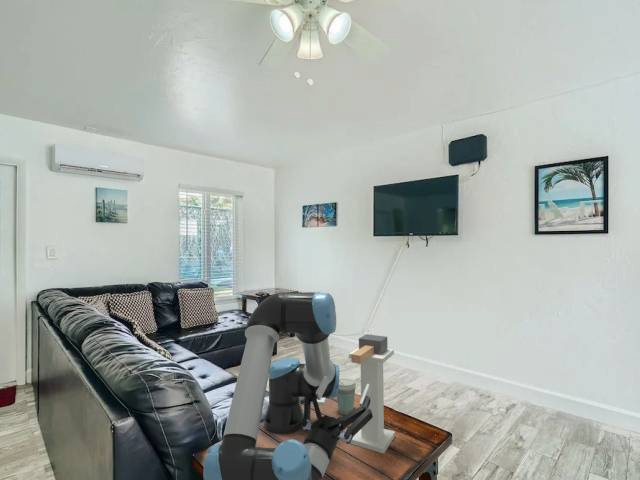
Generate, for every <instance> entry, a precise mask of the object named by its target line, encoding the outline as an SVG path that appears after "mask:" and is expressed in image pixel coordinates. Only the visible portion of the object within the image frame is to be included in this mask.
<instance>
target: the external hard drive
mask: <svg viewBox="0 0 640 480" xmlns="http://www.w3.org/2000/svg"><path fill="white" fill-rule="evenodd" d="M326 400H327V398H321V399H320V400H318V399H317V402H318V405H323V404H324V403H326ZM311 405H313V402H311ZM324 405H325V404H324Z"/></svg>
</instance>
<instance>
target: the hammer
mask: <svg viewBox="0 0 640 480" xmlns="http://www.w3.org/2000/svg"><path fill="white" fill-rule="evenodd" d="M358 348H359V350H357V351H356V352H354V353H353V354H351V358H350V359H351V361H350V362H351V363H353V364H359V365H361V363H362V362H364V361H365V360H366V359H368V358H369V357H370V356H372V355H373V354H379V355H381V354H383V353H384V352H385V351H386V350H388V349H389V348H388V336H385V335H376V334H375V335H374V334H369V333H368V334H367V333H366V334H364V335H362V336H360V337H359V338H358Z"/></svg>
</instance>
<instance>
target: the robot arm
mask: <svg viewBox="0 0 640 480" xmlns="http://www.w3.org/2000/svg"><path fill="white" fill-rule="evenodd" d="M336 328H337V311H336V304H335V300H334V297H333V295H332V294H330V293H328V292H320V291H317V292H315V291H314V292H312V291H311V292H310V291H309V292H308V291H307V292H304V291H303V292H301V291H300V292H285V291H283V292H281V291H280V292H276V293H273V294H271V295H269V296H267V297H266V298H264V299H263V300H261V302H260V303H259V304H258V305H257V306H256V308H255V309H254V310H253V312H252V313H251V314H250V316H249V319H248V321H247V324H246V325H245V330H244V336H245V338H246V341H245V342H246V343H245V346H244V351H243V355H242V358H241V361H240V366H239V371H238V374H237V379H236V383H235V387H234V390H233V394H232V400H231V403H230V407H229V411H228V416H227V420H226V424H225V428H224V432H223V434H222V435H223V436H222V441H221V444H217V445H216V444H215V445H212V446H210V448H209V450H208V452H207V454H206V456H205V459H204V464H203V470H202V471H203V472H202V474H203V480H323V478H324V476H325V473H326V471H327V468H328V466H329V464H330V460H331V459H332V456H333V454H334V451H335V450H336V446H337V444H338V442H339V440H340V439H341V440H343V441H345V443H346V444H347V445H349V444H350V442H351V440H352V438H353V436H354V435H355V434H357V433H358V432H359V431H360V430H361V429H362V428H363V427H364V426H365V425H366V424H367V423H368V422H369V421H370V420H371V419H372V418H373V415H372V411H371V409H368V407H369V405H370V402H371V401H370V397H369V396H370V393H371V388H370V384H367V385H366V388H365V390H364V393H363V395H362V398H361V397H360V400H359V407H356V408H355V409H353V411H352V412H350V413H348V414H347V415H343V416H339V417H338V418H336V417H333V416H329V415H326V414H325V415H323V416H322V413H321V409H320V406H319V405H320V404H318V402H317V399H318V400H320V399H321V398H326V399H332V398H333V399H334V398H337V394H338V388H339V379H340V365H338V364H335V363H334V362H333V361H332V360H331V357H330V344H329V337H330V335H332V334H334V333H335V332H336V330H337V329H336ZM282 333H285V334H287V333H288V334H294V335H295V336H296V338H297V339H298V340H299V341H300V342H301V345H302V351H303V356H304V363H301V361H300V359H299V358H295V357H288V358H281V359H278V360H277V361H274V362H273V363H272V358H273V352H274V347H275V343H276V344H277V342H278V341H279V340H280V336H281V335H280V334H282ZM267 385H268V386H267ZM267 387H268V405H267V409H266V412H265V414H264V420H263V421H264V423H263V426H264V428H265V429H266V430H267V431H269V432H271V433H274V434H281V435H283V434H285V435H286V434H290V433H291V434H292V433H294V432H298V431H299V430H301V429H303V431H304V432H307V431H308V432H307V435H306V436H305V439H304V441H303V442H301V441H299V440H298V439H287V440H284V441H282V442H280V443H279V444H278V445H277V446H276V447H260V446H257V440H258V437H259V436H258V435H259V430H260V427H261V426H260V425H261V419H262V413H263V407H264V402H265V397H266V391H267ZM301 398H304V399H303V400H304V401H303V402H304V403H303V404H304V405H303V407H302V405H301V400H300V399H301ZM311 402H313V404H311ZM312 405H313V408H314V411H315V417H316V419H317V420H315V421H313V422H311V414H312V413H311V411H312V410H311V408H312V407H311V406H312ZM342 431H343V432H342Z"/></svg>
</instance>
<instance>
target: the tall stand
mask: <svg viewBox="0 0 640 480" xmlns="http://www.w3.org/2000/svg"><path fill="white" fill-rule="evenodd" d="M357 350H359V347H358V348H355V349H354V350H352V351H351V352H349V354H348V359H351V354H353V353H354V352H356V351H357ZM394 354H395V349H392V348H388V350H386V351H385V352H384V353H383V354H381V355H379V354H373V355H372V356H370V357H369V358H368V359H366V360H365V361H364V362H362V363H361V364H360V399H361V398H362V395H363V393H364V390H365V388H366V385H367V384H370V388H371V393H370V396H369V397H370V401H371V402H370V405H369V407H368V409H371V411H372V415H373V418H372V419H371V420H370V421H369V422H368V423H367V424H366V425H365V426H364V427H363V428H362V429H361V430H360V431H359V432H358V433H357V434H355V435H354V436H353V438H352V440H351V442H350V443H349V444H350V445H354V446H357V447H360V448H363V449H368V450H370V451H373V452H377V453H380V454H382V455H383V454H385V453H386V451H387V450H388V448H389V446H390V445H391V443H392V442H393V440H394V438H395V436H396V431H394V430H390V429H387V428H385V423H384V422H385V417H384V415H385V414H384V413H385V411H384V410H385V406H384V405H385V403H384V402H385V401H384V399H385V398H384V363H385V362H387V361H388V360H389V359H390V358H391V357H393V355H394Z"/></svg>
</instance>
